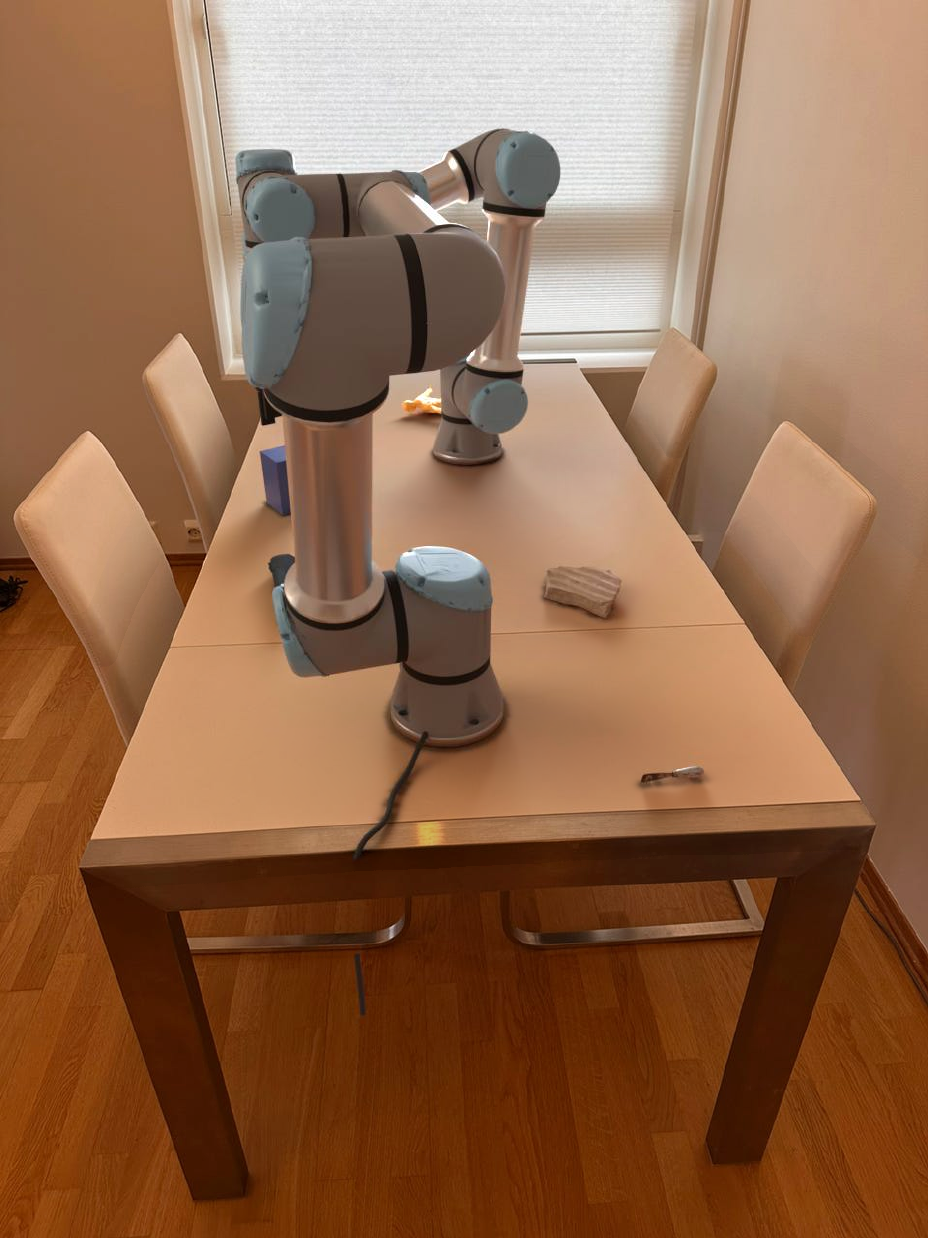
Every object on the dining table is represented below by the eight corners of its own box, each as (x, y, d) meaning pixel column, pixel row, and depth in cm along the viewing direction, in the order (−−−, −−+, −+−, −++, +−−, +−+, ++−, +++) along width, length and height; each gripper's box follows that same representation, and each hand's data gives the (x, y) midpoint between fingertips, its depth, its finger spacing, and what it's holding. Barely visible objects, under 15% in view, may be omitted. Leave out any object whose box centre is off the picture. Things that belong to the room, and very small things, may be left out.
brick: (303, 492, 183) (298, 441, 177) (320, 504, 178) (315, 452, 172) (266, 502, 179) (259, 450, 173) (282, 515, 174) (276, 462, 168)
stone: (626, 584, 150) (627, 571, 148) (608, 619, 140) (609, 605, 139) (553, 571, 154) (553, 558, 153) (530, 604, 145) (530, 590, 143)
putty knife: (703, 777, 109) (705, 767, 109) (642, 788, 108) (644, 777, 107) (700, 772, 110) (702, 762, 109) (639, 782, 109) (640, 771, 108)
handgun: (352, 612, 143) (277, 623, 140) (336, 561, 157) (267, 570, 155) (351, 595, 141) (274, 606, 139) (334, 545, 156) (265, 554, 153)
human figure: (395, 413, 223) (394, 398, 221) (438, 390, 237) (438, 375, 235) (462, 429, 215) (462, 413, 213) (502, 404, 229) (503, 388, 227)
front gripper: (215, 267, 127) (236, 411, 138) (294, 298, 110) (311, 460, 121) (263, 261, 131) (280, 402, 142) (348, 290, 114) (359, 448, 125)
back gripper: (224, 309, 166) (238, 419, 177) (284, 337, 149) (295, 458, 160) (261, 304, 170) (273, 412, 181) (324, 331, 153) (332, 449, 164)
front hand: (294, 429), depth 132 cm, fingers open, 13 cm apart
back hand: (283, 434), depth 171 cm, fingers open, 13 cm apart
